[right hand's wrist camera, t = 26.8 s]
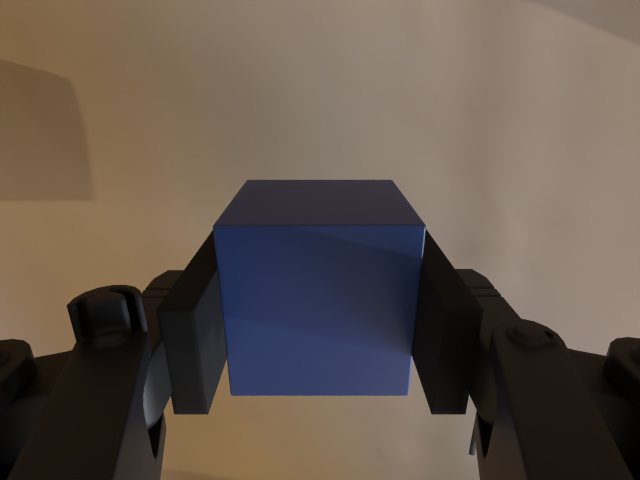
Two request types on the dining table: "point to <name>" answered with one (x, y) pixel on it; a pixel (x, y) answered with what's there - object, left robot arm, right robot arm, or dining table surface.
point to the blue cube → (319, 287)
